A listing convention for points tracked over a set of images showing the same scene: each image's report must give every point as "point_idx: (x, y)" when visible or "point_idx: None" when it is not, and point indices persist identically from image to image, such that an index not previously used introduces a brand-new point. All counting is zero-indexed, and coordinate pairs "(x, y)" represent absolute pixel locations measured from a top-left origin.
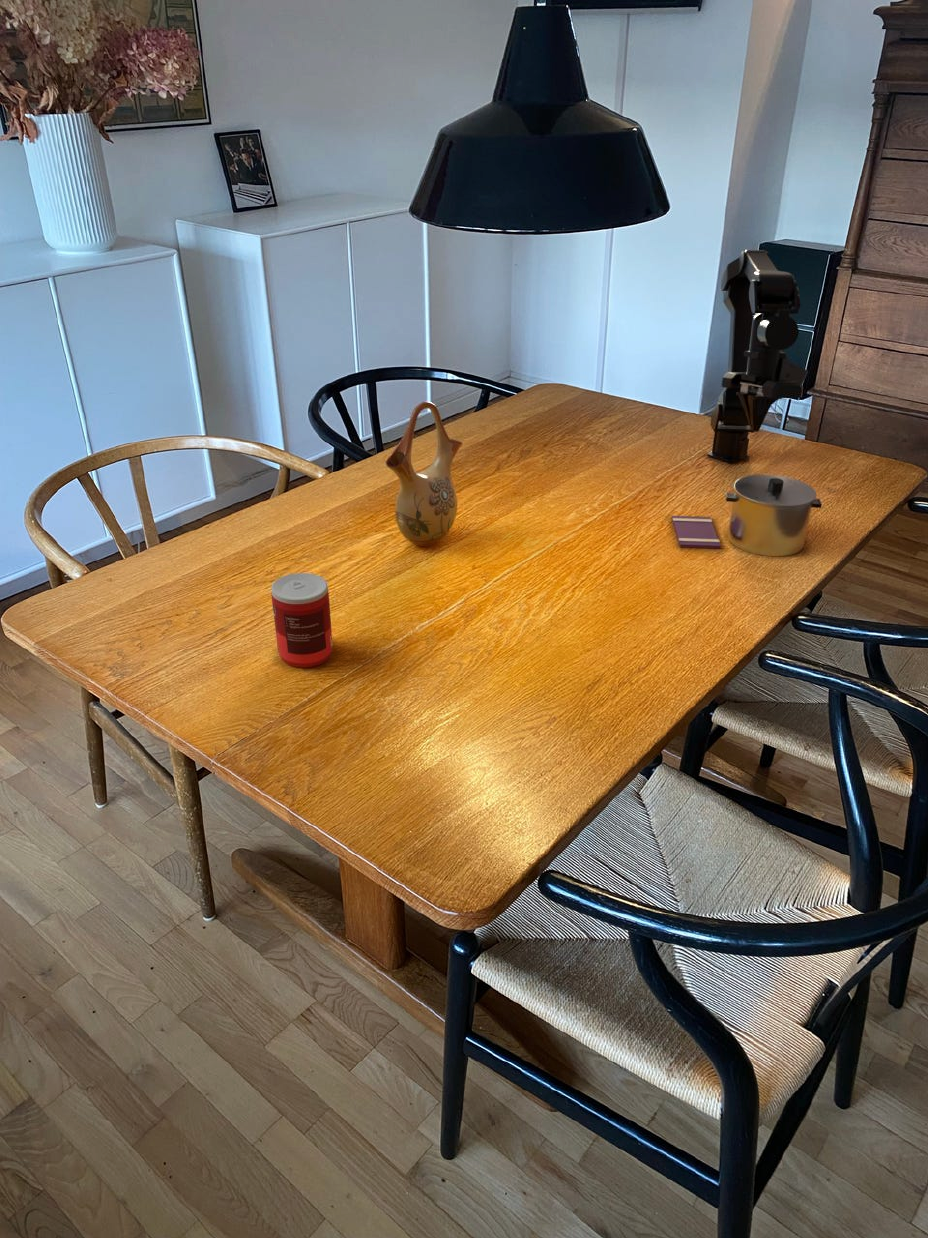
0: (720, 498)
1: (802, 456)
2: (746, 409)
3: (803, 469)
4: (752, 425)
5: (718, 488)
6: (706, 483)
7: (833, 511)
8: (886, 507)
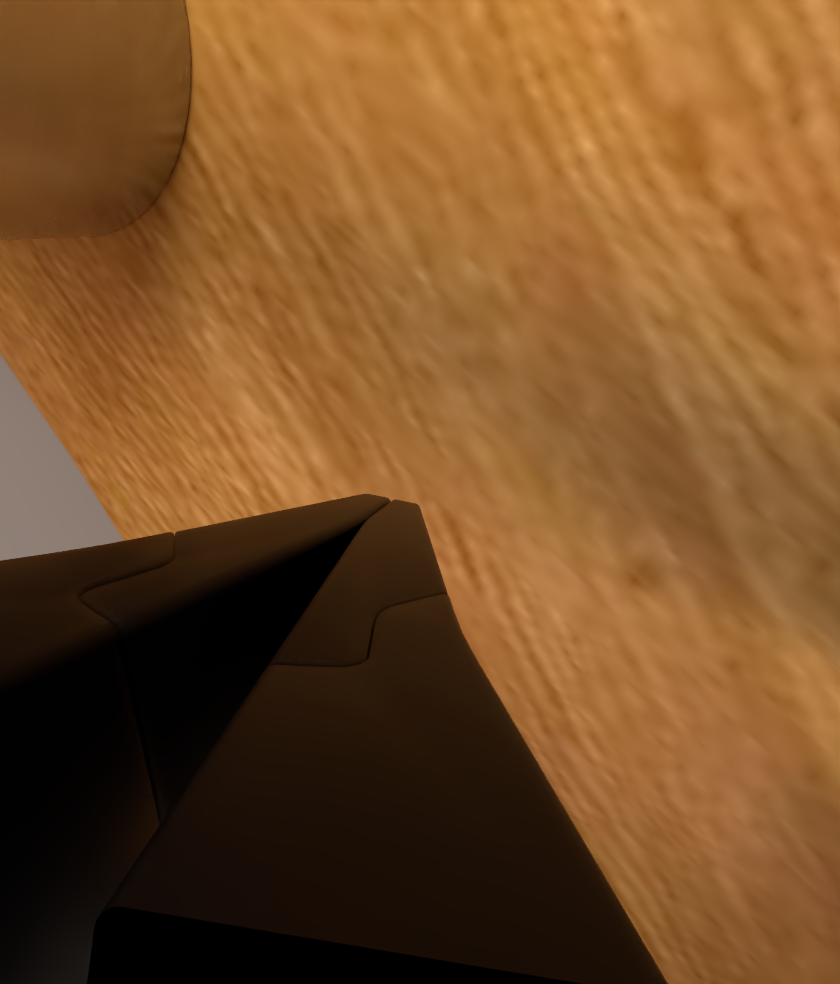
0: (543, 122)
1: (795, 950)
2: (350, 610)
3: (653, 818)
4: (337, 504)
5: (694, 222)
6: (831, 189)
7: None
8: None
